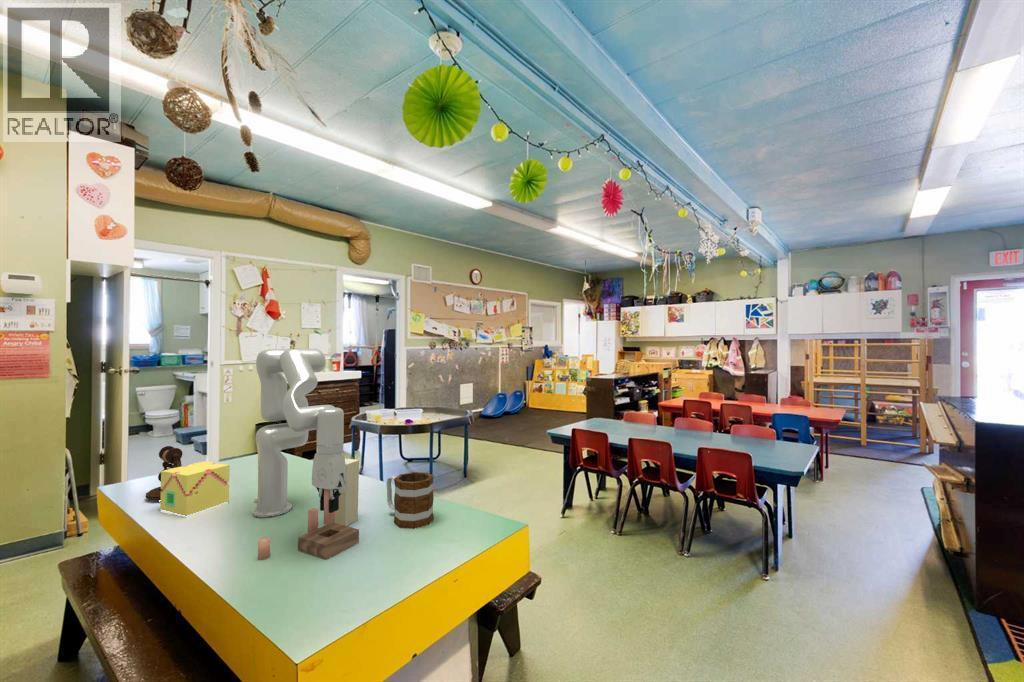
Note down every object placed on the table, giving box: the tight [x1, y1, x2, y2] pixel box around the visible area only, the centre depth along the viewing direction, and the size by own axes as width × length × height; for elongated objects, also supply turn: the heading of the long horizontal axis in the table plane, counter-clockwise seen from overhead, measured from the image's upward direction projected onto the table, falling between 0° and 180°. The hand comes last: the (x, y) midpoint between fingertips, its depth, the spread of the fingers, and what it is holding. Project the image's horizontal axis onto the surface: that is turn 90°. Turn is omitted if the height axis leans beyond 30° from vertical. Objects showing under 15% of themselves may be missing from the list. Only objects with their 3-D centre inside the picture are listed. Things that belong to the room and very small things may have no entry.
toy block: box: [159, 460, 230, 516], centre depth 158 cm, size 15×15×15 cm
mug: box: [386, 471, 435, 530], centre depth 148 cm, size 20×14×15 cm
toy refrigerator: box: [334, 457, 360, 527], centre depth 145 cm, size 8×7×21 cm
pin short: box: [257, 536, 271, 561], centre depth 120 cm, size 3×3×5 cm
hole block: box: [297, 523, 360, 561], centre depth 127 cm, size 12×12×4 cm
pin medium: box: [307, 508, 319, 533], centre depth 135 cm, size 3×3×8 cm
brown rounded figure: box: [145, 445, 183, 501], centre depth 170 cm, size 15×15×20 cm
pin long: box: [323, 489, 335, 525], centre depth 127 cm, size 3×3×12 cm
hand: (329, 509), depth 127 cm, fingers closed on pin long, 3 cm apart
